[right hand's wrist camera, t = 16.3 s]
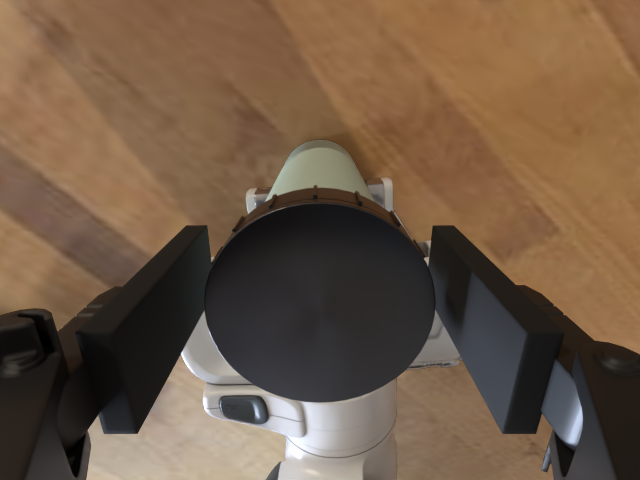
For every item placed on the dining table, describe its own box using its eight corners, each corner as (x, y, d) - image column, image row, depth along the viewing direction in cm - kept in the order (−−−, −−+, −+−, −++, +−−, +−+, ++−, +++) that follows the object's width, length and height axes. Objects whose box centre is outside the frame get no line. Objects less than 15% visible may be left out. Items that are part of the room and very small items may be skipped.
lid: (397, 378, 13) (407, 416, 12) (212, 356, 13) (197, 392, 11) (447, 203, 11) (467, 220, 9) (222, 170, 10) (205, 183, 9)
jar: (272, 195, 28) (200, 341, 11) (300, 126, 26) (266, 179, 10) (337, 223, 29) (361, 399, 12) (369, 158, 27) (450, 259, 10)
